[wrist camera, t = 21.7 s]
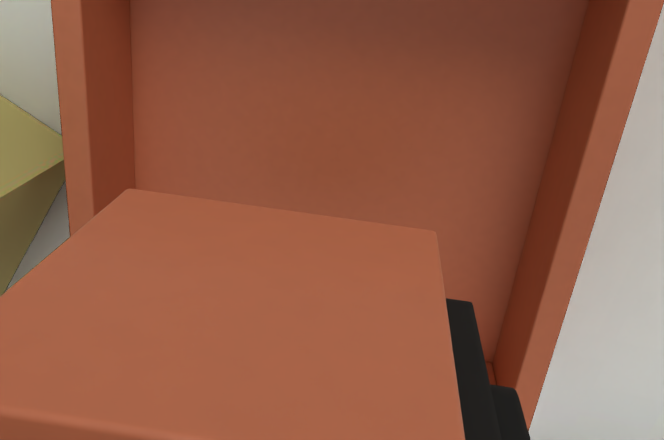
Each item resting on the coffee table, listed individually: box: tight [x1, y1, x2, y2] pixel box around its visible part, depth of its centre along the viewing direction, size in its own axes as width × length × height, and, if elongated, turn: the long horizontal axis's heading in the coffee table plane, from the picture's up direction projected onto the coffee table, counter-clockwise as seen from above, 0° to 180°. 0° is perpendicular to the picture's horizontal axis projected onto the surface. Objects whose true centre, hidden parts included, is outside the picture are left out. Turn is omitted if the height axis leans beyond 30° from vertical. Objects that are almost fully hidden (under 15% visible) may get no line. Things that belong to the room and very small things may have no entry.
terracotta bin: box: [51, 0, 664, 431], centre depth 18 cm, size 15×15×4 cm
